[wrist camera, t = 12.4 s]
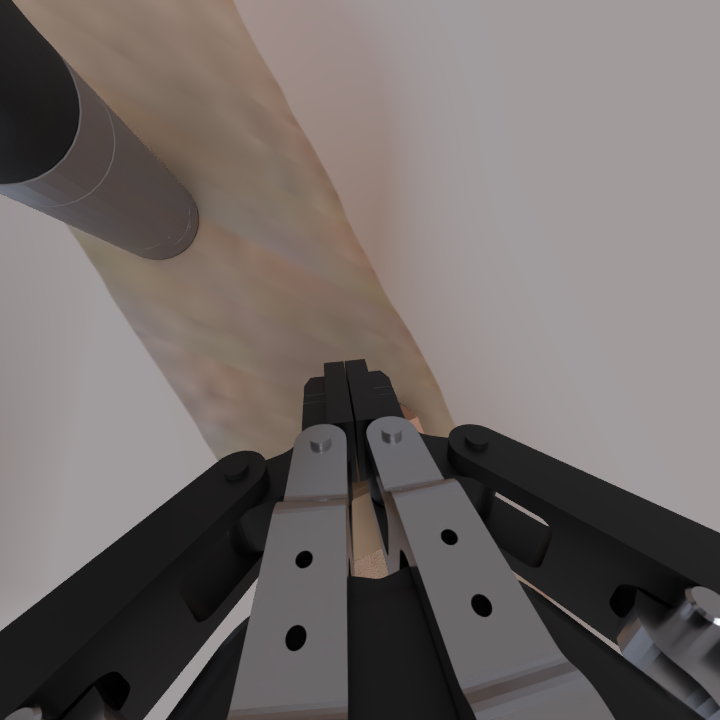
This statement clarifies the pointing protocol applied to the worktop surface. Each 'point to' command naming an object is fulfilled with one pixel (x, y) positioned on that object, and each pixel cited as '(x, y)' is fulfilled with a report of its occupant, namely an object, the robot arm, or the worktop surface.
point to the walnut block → (363, 521)
